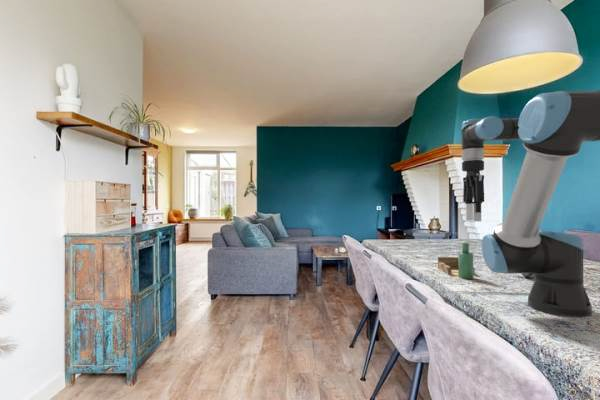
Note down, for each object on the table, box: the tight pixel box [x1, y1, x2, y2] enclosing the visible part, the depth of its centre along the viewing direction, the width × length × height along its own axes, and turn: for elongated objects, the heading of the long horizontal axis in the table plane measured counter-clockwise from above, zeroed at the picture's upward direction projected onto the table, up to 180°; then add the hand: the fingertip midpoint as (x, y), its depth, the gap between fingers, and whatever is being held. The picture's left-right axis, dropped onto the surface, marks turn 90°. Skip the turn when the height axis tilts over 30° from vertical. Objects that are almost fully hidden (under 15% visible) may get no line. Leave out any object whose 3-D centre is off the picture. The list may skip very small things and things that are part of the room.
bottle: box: [457, 240, 474, 280], centre depth 135 cm, size 5×5×15 cm
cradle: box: [437, 256, 482, 280], centre depth 144 cm, size 22×11×6 cm, turn 174°
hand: (473, 220), depth 128 cm, fingers open, 6 cm apart
